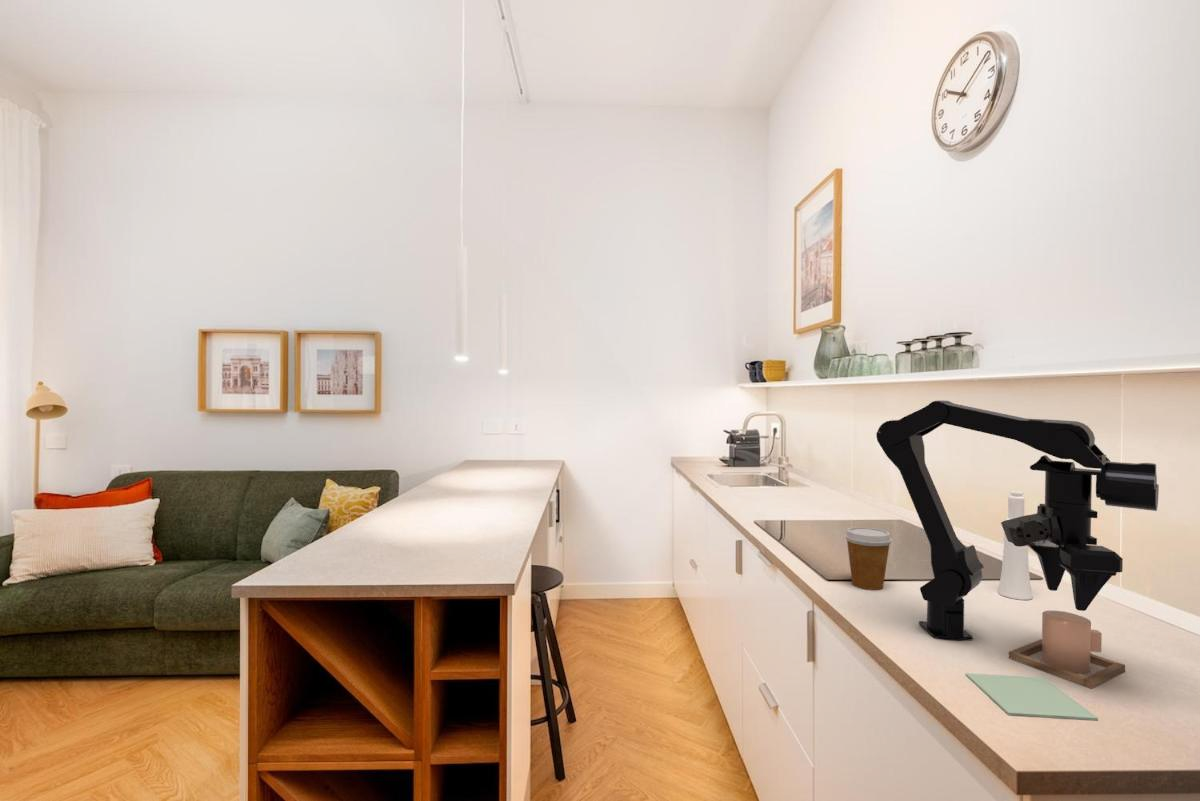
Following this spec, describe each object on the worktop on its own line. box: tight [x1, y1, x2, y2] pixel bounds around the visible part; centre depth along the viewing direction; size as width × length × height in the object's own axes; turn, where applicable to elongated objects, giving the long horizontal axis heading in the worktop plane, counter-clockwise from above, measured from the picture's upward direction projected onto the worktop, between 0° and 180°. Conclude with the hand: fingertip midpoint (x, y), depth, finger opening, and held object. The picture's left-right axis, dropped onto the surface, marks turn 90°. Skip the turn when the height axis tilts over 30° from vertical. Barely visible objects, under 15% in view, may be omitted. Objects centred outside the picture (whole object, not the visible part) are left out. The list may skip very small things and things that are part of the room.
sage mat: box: [965, 672, 1099, 721], centre depth 83 cm, size 11×11×1 cm
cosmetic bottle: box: [997, 490, 1034, 601], centre depth 124 cm, size 6×6×22 cm
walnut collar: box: [1008, 638, 1126, 689], centre depth 92 cm, size 11×11×1 cm
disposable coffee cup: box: [844, 526, 893, 591], centre depth 130 cm, size 10×10×12 cm
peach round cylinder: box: [1041, 610, 1103, 675], centre depth 92 cm, size 7×6×8 cm
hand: (1065, 599), depth 92 cm, fingers open, 9 cm apart
